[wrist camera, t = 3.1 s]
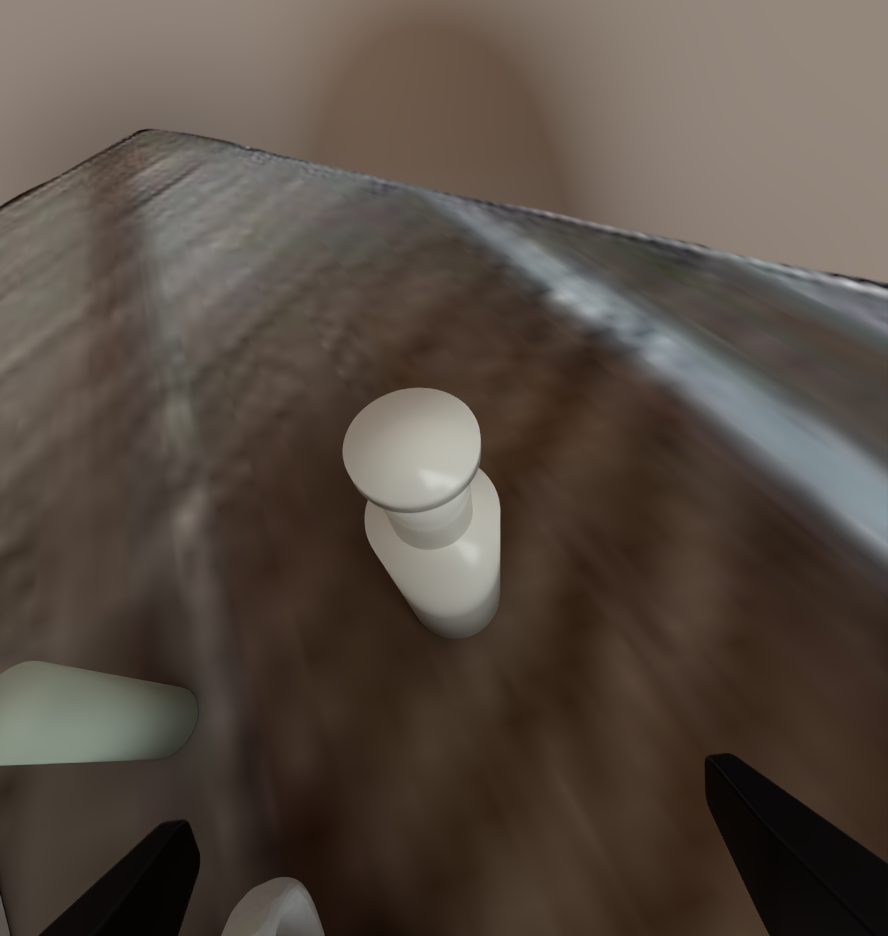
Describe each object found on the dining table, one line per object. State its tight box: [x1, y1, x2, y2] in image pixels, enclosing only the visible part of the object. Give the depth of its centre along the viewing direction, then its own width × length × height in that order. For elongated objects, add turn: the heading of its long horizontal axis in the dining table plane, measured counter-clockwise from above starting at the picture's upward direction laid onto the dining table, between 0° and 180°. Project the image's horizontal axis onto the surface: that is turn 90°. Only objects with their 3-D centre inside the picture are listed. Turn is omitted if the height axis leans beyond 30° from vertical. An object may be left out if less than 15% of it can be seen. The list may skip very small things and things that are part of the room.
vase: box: [343, 388, 500, 639], centre depth 17 cm, size 5×5×14 cm
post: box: [0, 661, 198, 766], centre depth 18 cm, size 3×3×8 cm
